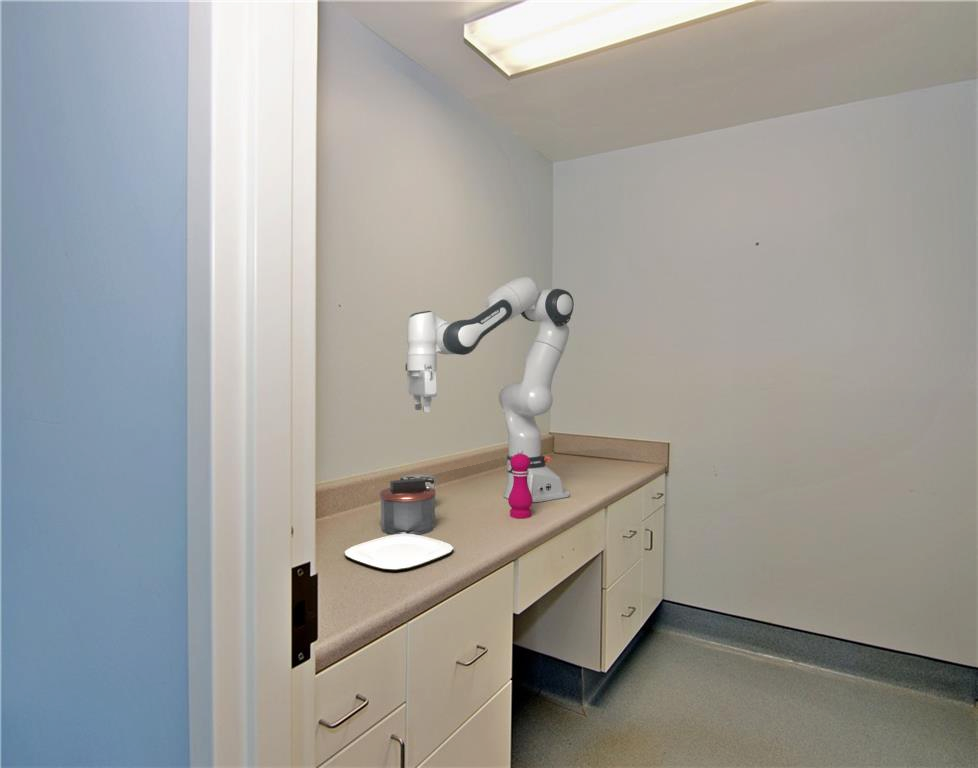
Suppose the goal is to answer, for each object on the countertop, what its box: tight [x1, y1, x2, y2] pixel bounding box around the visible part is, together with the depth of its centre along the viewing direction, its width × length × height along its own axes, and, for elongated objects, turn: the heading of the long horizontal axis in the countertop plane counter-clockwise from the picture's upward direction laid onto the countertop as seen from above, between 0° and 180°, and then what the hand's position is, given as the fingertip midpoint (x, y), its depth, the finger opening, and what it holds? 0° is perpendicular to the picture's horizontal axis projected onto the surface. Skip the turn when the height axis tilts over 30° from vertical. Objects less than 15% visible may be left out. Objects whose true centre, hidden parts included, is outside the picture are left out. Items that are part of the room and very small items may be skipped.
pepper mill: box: [507, 449, 534, 519], centre depth 165 cm, size 7×7×20 cm
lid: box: [379, 478, 437, 502], centre depth 152 cm, size 15×15×4 cm
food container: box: [398, 473, 438, 489], centre depth 176 cm, size 12×6×10 cm, turn 84°
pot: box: [380, 496, 436, 536], centre depth 156 cm, size 14×22×9 cm, turn 22°
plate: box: [344, 534, 455, 571], centre depth 131 cm, size 22×22×2 cm
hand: (422, 410), depth 168 cm, fingers open, 8 cm apart
